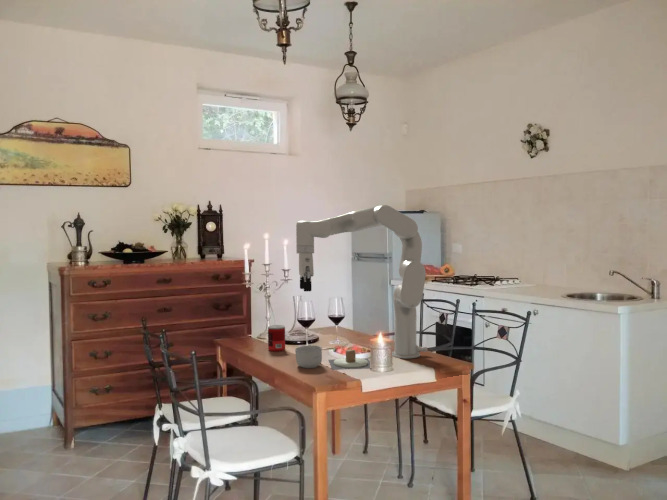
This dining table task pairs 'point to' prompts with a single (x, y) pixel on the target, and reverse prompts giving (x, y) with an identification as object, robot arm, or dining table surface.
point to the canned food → (276, 338)
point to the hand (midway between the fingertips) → (305, 289)
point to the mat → (347, 368)
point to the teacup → (308, 356)
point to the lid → (350, 360)
